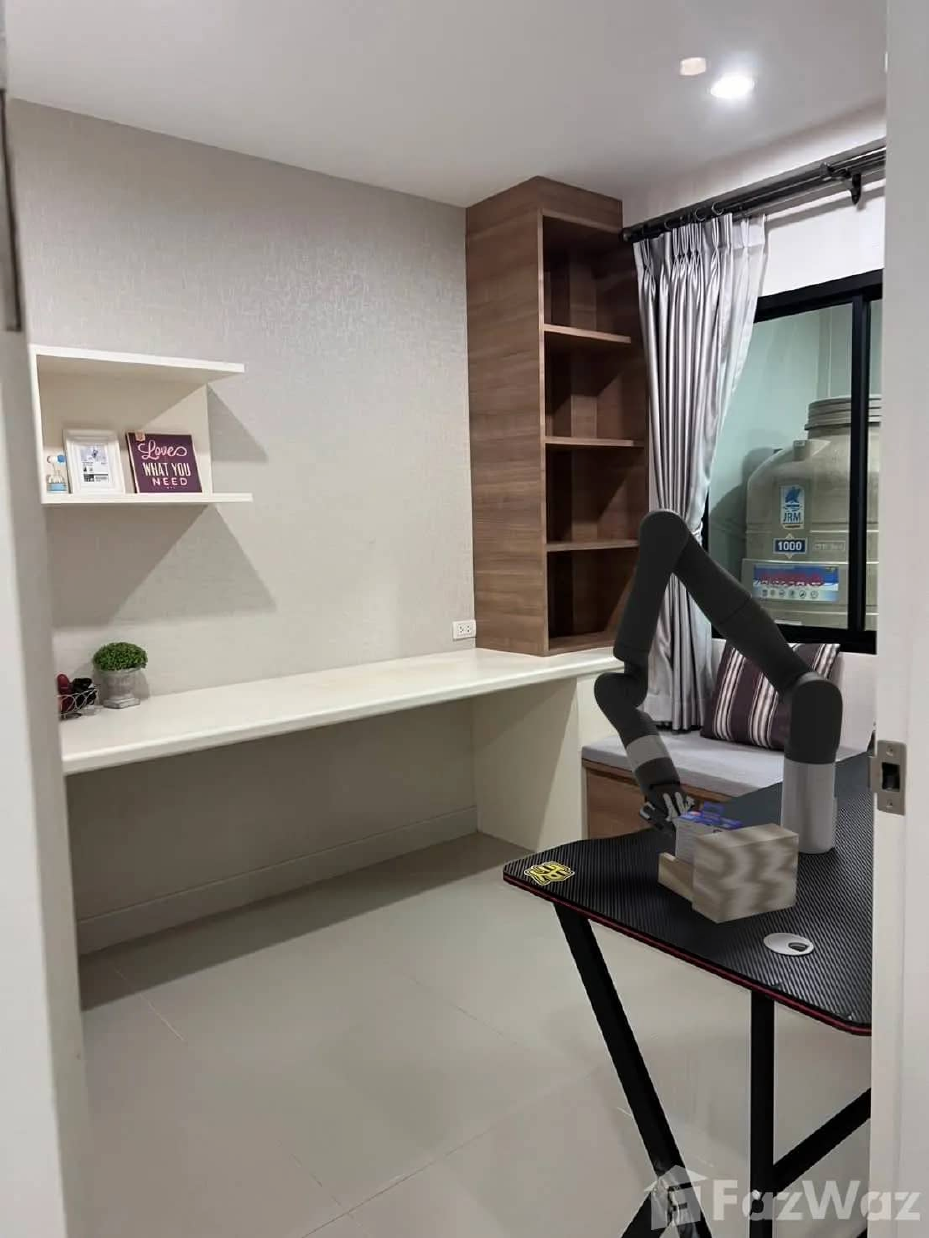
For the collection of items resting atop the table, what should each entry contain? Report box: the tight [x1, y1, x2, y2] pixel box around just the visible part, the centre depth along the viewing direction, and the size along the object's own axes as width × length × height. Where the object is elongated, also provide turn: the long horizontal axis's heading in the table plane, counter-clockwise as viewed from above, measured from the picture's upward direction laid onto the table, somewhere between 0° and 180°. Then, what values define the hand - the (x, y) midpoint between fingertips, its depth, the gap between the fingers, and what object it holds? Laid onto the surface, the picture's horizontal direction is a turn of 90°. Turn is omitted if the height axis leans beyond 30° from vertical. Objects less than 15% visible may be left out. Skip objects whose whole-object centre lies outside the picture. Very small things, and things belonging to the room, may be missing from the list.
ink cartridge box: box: [674, 801, 744, 867], centre depth 156 cm, size 10×6×14 cm, turn 47°
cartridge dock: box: [658, 822, 799, 924], centre depth 154 cm, size 16×17×12 cm
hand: (689, 852), depth 162 cm, fingers closed
